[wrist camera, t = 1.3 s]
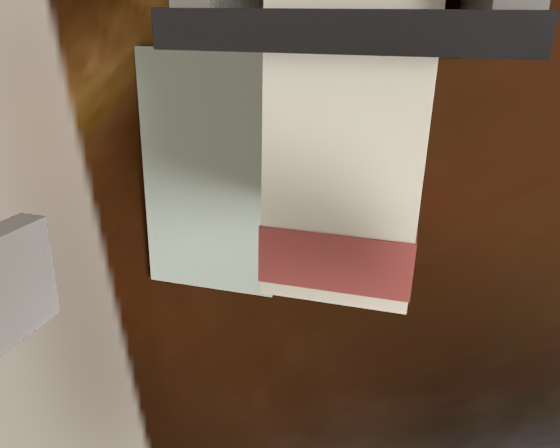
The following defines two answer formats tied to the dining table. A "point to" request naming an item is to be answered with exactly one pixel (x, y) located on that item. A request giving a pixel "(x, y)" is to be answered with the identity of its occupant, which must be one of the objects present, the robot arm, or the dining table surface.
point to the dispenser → (360, 29)
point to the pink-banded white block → (343, 169)
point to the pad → (202, 165)
